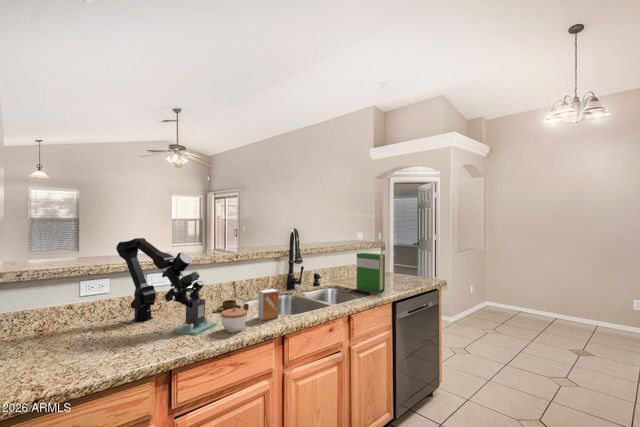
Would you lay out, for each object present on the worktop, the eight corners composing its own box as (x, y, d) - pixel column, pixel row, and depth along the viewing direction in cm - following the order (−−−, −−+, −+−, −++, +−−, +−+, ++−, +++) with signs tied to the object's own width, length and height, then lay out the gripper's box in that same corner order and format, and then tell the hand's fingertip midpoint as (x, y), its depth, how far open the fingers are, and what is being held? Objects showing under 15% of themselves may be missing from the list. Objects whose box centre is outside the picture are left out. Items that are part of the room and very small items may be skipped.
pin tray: (173, 331, 137) (173, 323, 137) (194, 322, 149) (194, 314, 149) (195, 335, 133) (196, 326, 133) (216, 325, 145) (216, 317, 145)
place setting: (245, 306, 178) (245, 295, 178) (250, 316, 159) (250, 304, 159) (211, 309, 172) (211, 298, 172) (212, 320, 153) (213, 308, 153)
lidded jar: (251, 329, 140) (251, 307, 140) (229, 336, 132) (230, 313, 132) (237, 324, 147) (237, 303, 147) (216, 330, 139) (216, 308, 139)
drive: (185, 323, 140) (185, 300, 140) (193, 320, 144) (194, 298, 144) (196, 325, 137) (197, 302, 137) (204, 322, 142) (205, 299, 142)
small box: (263, 320, 152) (263, 292, 152) (257, 317, 157) (258, 290, 157) (278, 317, 156) (278, 290, 156) (273, 314, 161) (273, 288, 162)
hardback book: (384, 290, 217) (384, 254, 217) (379, 292, 211) (379, 255, 211) (362, 286, 228) (362, 252, 228) (356, 288, 222) (356, 253, 223)
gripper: (170, 269, 134) (191, 298, 130) (201, 263, 151) (220, 289, 148) (155, 286, 137) (175, 316, 133) (188, 279, 154) (206, 304, 150)
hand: (196, 305), depth 141 cm, fingers closed on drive, 5 cm apart
